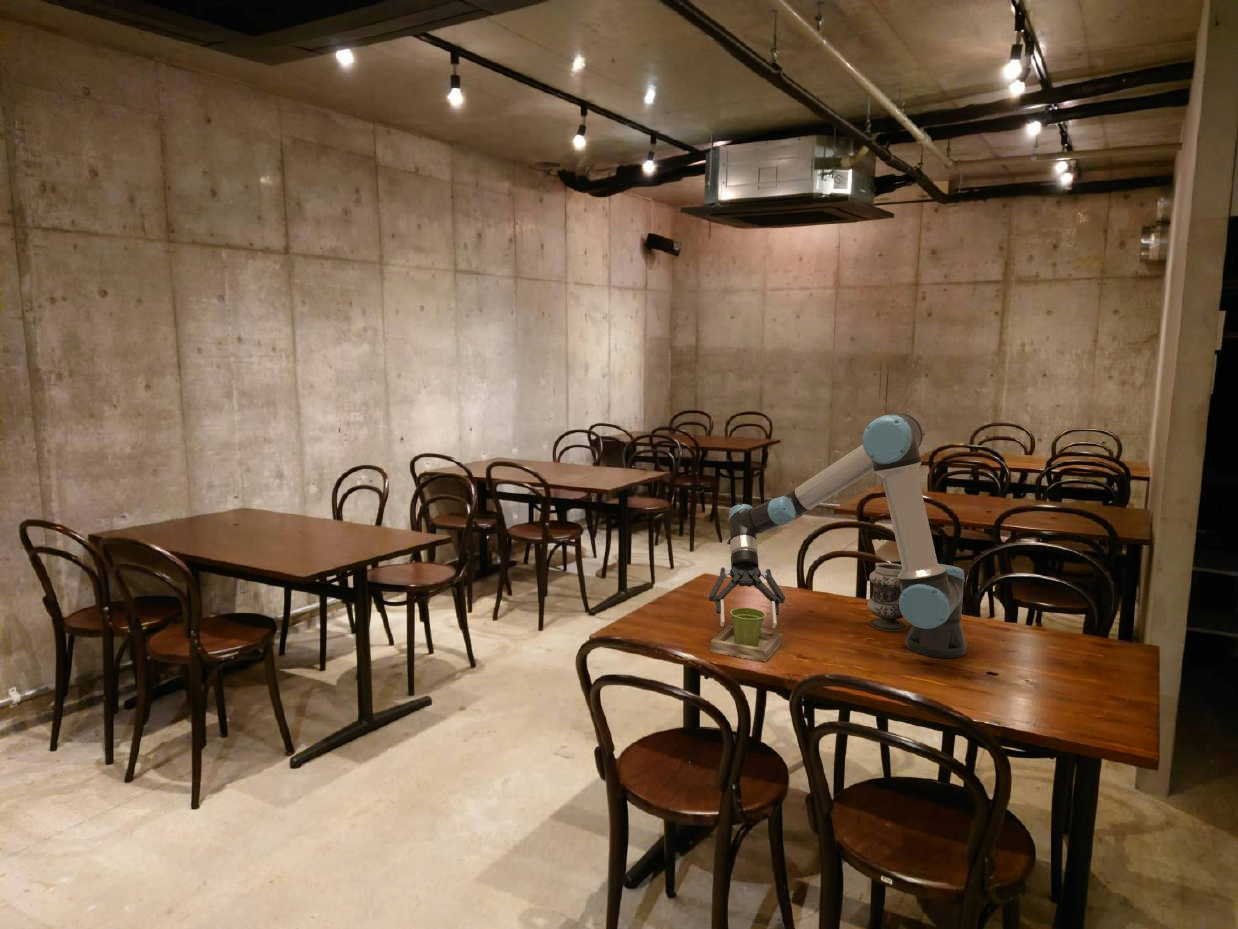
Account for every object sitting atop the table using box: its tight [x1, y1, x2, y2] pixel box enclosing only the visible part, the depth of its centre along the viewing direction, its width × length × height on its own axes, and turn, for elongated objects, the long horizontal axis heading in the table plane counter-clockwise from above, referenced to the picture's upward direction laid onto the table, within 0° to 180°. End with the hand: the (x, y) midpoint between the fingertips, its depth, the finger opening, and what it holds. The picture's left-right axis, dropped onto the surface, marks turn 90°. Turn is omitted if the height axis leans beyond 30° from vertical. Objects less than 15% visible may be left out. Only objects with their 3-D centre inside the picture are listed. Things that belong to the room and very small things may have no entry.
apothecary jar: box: [866, 562, 907, 632], centre depth 227 cm, size 12×12×18 cm
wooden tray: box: [709, 624, 783, 663], centre depth 208 cm, size 15×15×3 cm
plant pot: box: [729, 607, 767, 646], centre depth 208 cm, size 9×9×9 cm
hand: (748, 625), depth 205 cm, fingers open, 13 cm apart
